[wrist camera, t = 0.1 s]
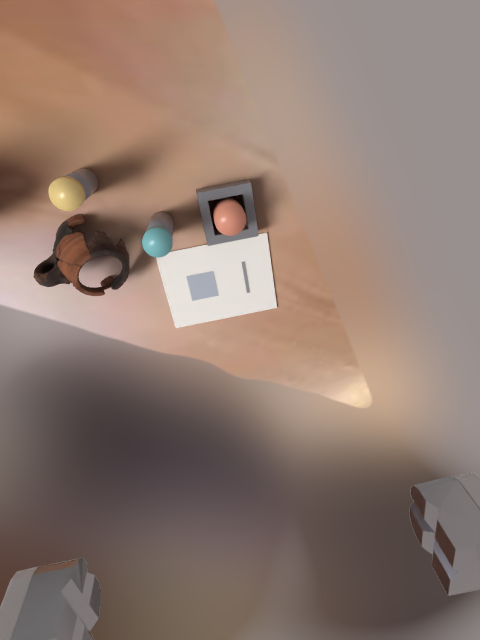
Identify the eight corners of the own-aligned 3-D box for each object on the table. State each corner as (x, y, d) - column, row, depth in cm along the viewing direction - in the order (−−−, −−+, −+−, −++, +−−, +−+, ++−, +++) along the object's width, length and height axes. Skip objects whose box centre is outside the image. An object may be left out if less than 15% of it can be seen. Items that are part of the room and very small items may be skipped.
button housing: (196, 189, 51) (196, 193, 49) (248, 179, 52) (251, 182, 49) (207, 240, 55) (207, 246, 53) (255, 231, 55) (258, 236, 53)
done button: (210, 201, 51) (211, 207, 48) (240, 195, 51) (243, 200, 48) (216, 230, 53) (217, 238, 50) (245, 225, 53) (248, 232, 50)
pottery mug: (97, 196, 51) (116, 231, 46) (127, 247, 59) (147, 281, 54) (11, 240, 49) (22, 281, 45) (54, 286, 57) (68, 325, 52)
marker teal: (146, 213, 52) (138, 232, 44) (171, 208, 52) (168, 226, 44) (152, 238, 54) (146, 260, 46) (177, 233, 54) (175, 254, 46)
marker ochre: (66, 170, 49) (43, 181, 41) (93, 164, 49) (75, 175, 41) (76, 197, 50) (55, 213, 42) (102, 192, 50) (87, 207, 42)
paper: (155, 254, 55) (155, 255, 55) (266, 232, 55) (267, 232, 55) (175, 327, 61) (175, 328, 60) (276, 307, 61) (277, 307, 61)
